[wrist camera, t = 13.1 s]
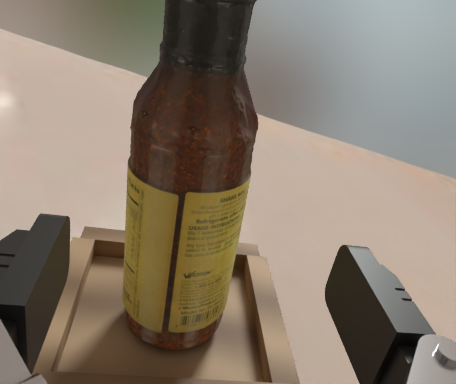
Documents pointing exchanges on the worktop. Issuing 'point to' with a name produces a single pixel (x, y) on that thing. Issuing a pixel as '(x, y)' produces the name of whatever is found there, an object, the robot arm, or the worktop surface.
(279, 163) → the worktop surface
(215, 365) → the dock
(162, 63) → the sauce bottle
